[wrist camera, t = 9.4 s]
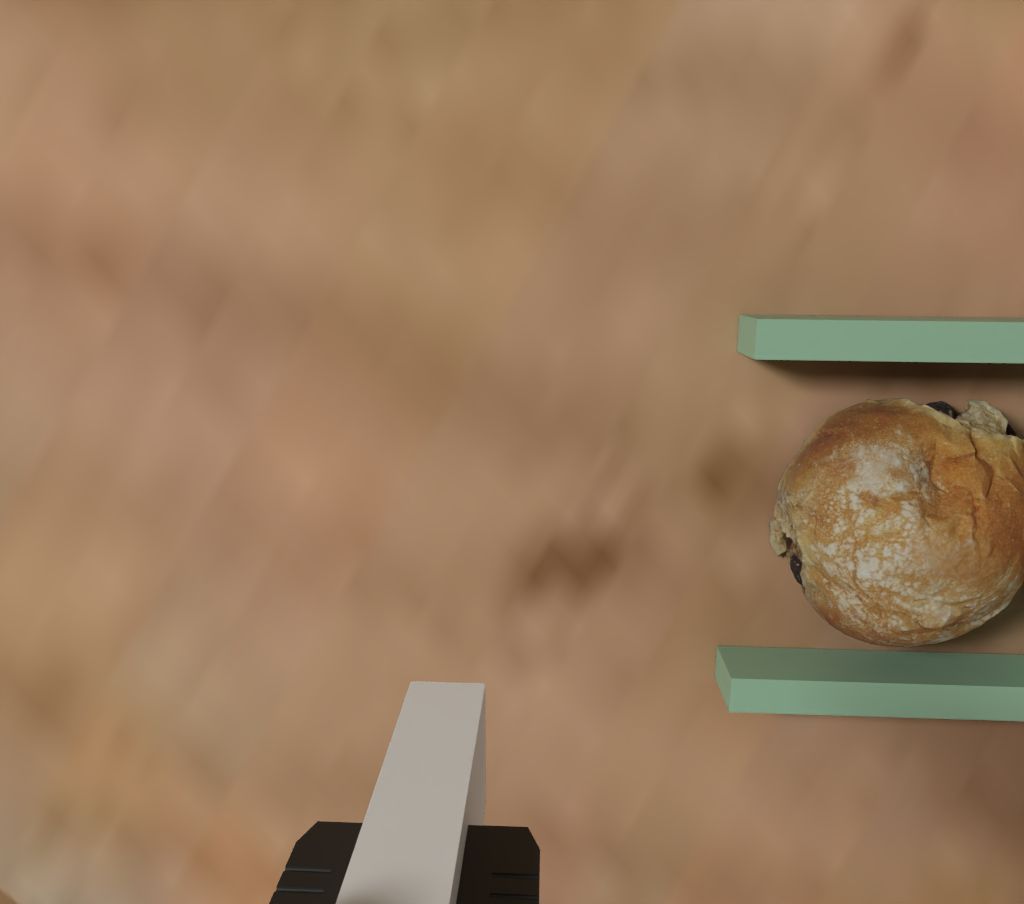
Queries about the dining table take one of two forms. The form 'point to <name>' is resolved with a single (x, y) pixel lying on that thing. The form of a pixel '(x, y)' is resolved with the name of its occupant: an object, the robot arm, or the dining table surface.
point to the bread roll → (905, 519)
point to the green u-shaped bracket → (868, 673)
